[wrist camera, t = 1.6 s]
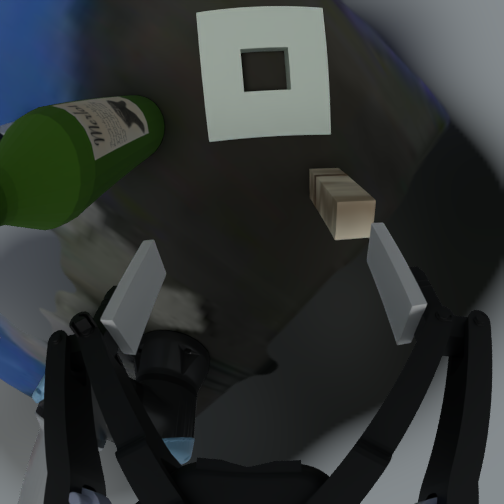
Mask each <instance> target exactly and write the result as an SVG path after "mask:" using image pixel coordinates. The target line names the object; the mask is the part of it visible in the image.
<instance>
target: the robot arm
mask: <svg viewBox="0 0 504 504" xmlns="http://www.w3.org/2000/svg"><path fill="white" fill-rule="evenodd" d="M367 263H368V265H369V268H370V270H371V273H372V275H373V278H374V280H375V283H376V286H377V288H378V291H379V294H380V296H381V299H382V301H383V304H384V307H385V310H386V313H387V316H388V319H389V322H390V325H391V328H392V331H393V334H394V336H395V340H396V343H397V345H399V344H406V343H411V341H412V339H413V337H414V336H415V339H416V341H417V342H416V344H415V346H414V348H413V350H412V353H411V354H410V356H409V358H408V360H407V362H406V364H405V366H404V368H403V370H402V372H401V373H400V375H399V377H398V379H397V381H396V382H395V384H394V386H393V388H392V389H391V391H390V393H389V395H388V396H387V398H386V399H385V401H384V403H383V404H382V406H381V408H380V409H379V411H378V412H377V414H376V415H375V417H374V418H373V420H372V421H371V423H370V424H369V426H368V427H367V429H366V430H365V432H364V433H363V434H362V436H361V437H360V439H359V440H358V441H357V443H356V444H355V445H354V447H353V448H352V450H351V451H350V452H349V453H348V455H347V456H346V457H345V459H344V460H343V461H342V463H341V464H340V465H339V466H338V467H337V469H336V470H335V471H334V472H333V474H332V475H331V476H330V477H329V476H328V475H327V474H325V473H324V472H322V471H321V470H319V469H317V468H314V467H311V466H308V465H303V464H301V460H296V461H274V462H270V463H265V464H261V465H256V466H252V467H244V466H241V465H237V464H233V463H230V462H227V461H224V460H217V459H206V458H197V462H194V463H190V464H187V465H184V466H182V465H181V464H184V463H186V462H187V461H188V460H189V459H190V458H191V455H192V449H193V444H194V441H195V439H194V429H195V416H196V403H197V393H198V391H199V389H200V387H201V385H202V383H203V381H204V380H205V378H206V376H207V374H208V371H209V362H210V358H209V354H208V352H207V350H206V349H205V348H204V347H203V346H202V345H201V344H200V343H199V342H198V341H196V340H195V339H193V338H191V337H189V336H187V335H184V334H181V333H178V332H173V331H164V330H161V331H153V332H149V333H146V334H144V335H143V332H144V330H145V327H146V324H147V322H148V319H149V316H150V314H151V311H152V309H153V306H154V303H155V301H156V298H157V296H158V293H159V291H160V288H161V286H162V283H163V281H164V278H165V276H166V271H165V269H164V266H163V263H162V261H161V258H160V255H159V252H158V250H157V247H156V244H155V241H154V240H145V241H143V242H142V244H141V245H140V247H139V249H138V251H137V252H136V254H135V256H134V257H133V259H132V261H131V263H130V264H129V266H128V268H127V270H126V271H125V273H124V275H123V277H122V279H121V280H120V282H119V284H118V286H113V287H112V288H111V289H110V290H109V291H108V292H107V294H106V295H105V297H104V300H103V301H102V303H101V305H100V307H99V308H98V310H97V312H96V314H95V316H94V318H92V317H91V315H90V314H89V313H88V312H80V313H78V314H76V315H75V316H74V317H73V318H72V319H71V321H70V328H71V329H72V331H73V332H74V335H70V336H68V335H67V334H66V333H65V331H63V330H59V331H56V332H54V333H53V334H52V335H51V337H50V338H49V341H48V347H47V357H46V368H45V375H44V376H43V378H42V380H41V381H40V383H39V385H38V386H37V388H36V390H35V391H34V393H33V395H32V398H33V399H34V401H35V402H36V403H39V405H38V407H37V410H36V412H35V415H36V417H37V420H38V422H39V424H40V430H39V432H38V435H37V438H36V441H35V444H34V447H33V450H32V453H31V456H30V460H29V463H28V466H27V470H26V473H25V477H24V480H23V484H22V488H21V493H20V497H19V501H18V504H111V502H110V500H109V499H108V498H107V497H106V488H105V481H104V475H103V471H102V466H101V461H100V455H99V451H101V450H103V448H104V445H105V443H106V440H109V441H111V442H114V443H115V445H116V447H117V451H116V452H115V455H116V458H117V461H118V463H119V464H120V466H121V469H122V471H123V472H124V474H125V476H126V478H127V480H128V482H129V484H130V486H131V487H132V489H133V491H134V493H135V494H136V496H137V498H138V499H139V501H138V502H137V503H136V504H360V503H361V501H362V500H363V499H364V498H365V496H366V495H367V494H368V492H369V491H370V490H371V488H372V487H373V486H374V484H375V483H376V482H377V480H378V479H379V477H380V476H381V475H382V473H383V472H384V470H385V468H386V467H387V465H388V464H389V462H390V460H391V457H392V454H393V453H394V451H395V449H396V448H397V446H398V444H399V443H400V441H401V439H402V438H403V436H404V434H405V433H406V431H407V429H408V427H409V425H410V424H411V422H412V420H413V418H414V416H415V414H416V412H417V410H418V409H419V407H420V404H421V402H422V400H423V398H424V396H425V394H426V392H427V390H428V388H429V386H430V384H431V381H432V379H433V377H434V374H435V372H436V370H437V367H438V365H439V362H440V360H441V357H442V356H449V359H448V369H447V377H446V385H445V392H444V398H443V404H442V409H441V415H440V420H439V424H438V429H437V433H436V438H435V442H434V446H433V450H432V453H431V457H430V460H429V464H428V467H427V470H426V473H425V476H424V479H423V483H422V486H421V490H420V494H419V499H418V503H415V504H479V495H478V494H479V491H478V481H479V476H480V472H481V468H482V463H483V458H484V453H485V447H486V441H487V435H488V427H489V418H490V408H491V392H492V340H491V325H490V320H489V318H488V316H487V315H486V314H485V313H484V312H482V311H479V310H474V311H471V313H470V314H469V315H468V317H462V316H456V315H453V312H452V311H451V310H450V309H448V308H447V307H445V306H442V305H441V303H440V301H439V299H438V297H437V295H436V293H435V291H434V289H433V287H432V286H431V284H430V282H429V281H428V278H427V276H426V275H425V273H424V272H423V271H422V270H421V269H419V267H408V265H407V263H406V261H405V259H404V258H403V256H402V254H401V252H400V250H399V249H398V247H397V245H396V243H395V242H394V240H393V238H392V237H391V235H390V233H389V231H388V230H387V228H386V226H385V225H384V223H371V231H370V239H369V247H368V255H367ZM142 335H143V336H142ZM118 348H120V350H121V351H122V352H123V354H131V355H134V366H135V376H136V380H133V379H131V378H129V377H128V375H127V373H126V370H125V368H124V366H123V364H122V362H121V359H120V357H119V356H118V354H117V351H118Z"/></svg>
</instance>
